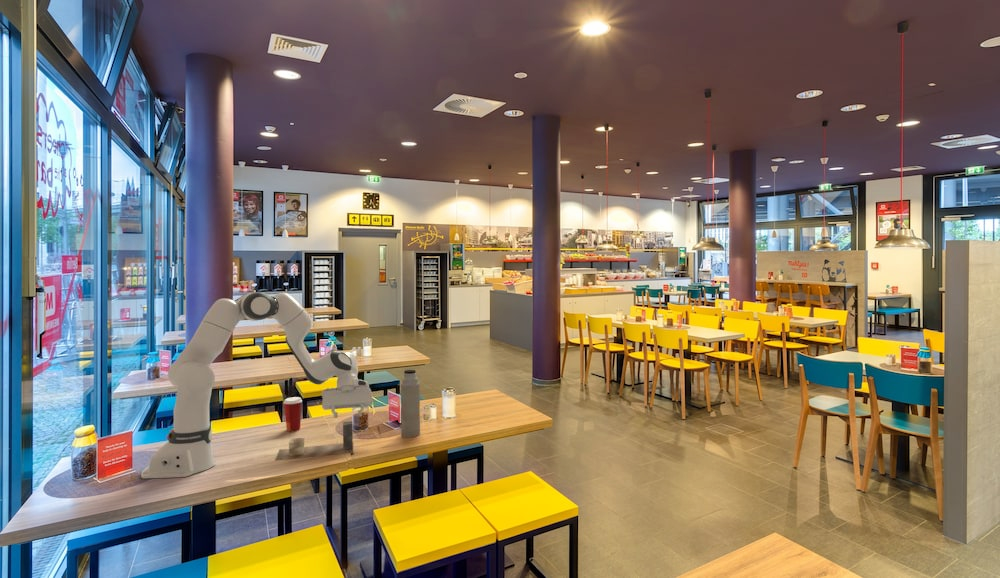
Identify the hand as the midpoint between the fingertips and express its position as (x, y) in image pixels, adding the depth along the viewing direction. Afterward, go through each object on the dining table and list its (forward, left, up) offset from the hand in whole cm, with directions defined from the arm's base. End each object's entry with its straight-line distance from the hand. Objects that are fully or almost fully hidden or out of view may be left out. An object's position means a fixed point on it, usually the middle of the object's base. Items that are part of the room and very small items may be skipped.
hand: (347, 416), depth 205 cm
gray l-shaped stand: (-12, -6, -12) cm, 18 cm away
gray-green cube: (-19, -6, -11) cm, 23 cm away
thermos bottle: (+26, +6, -12) cm, 29 cm away
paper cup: (-24, +28, -12) cm, 38 cm away
